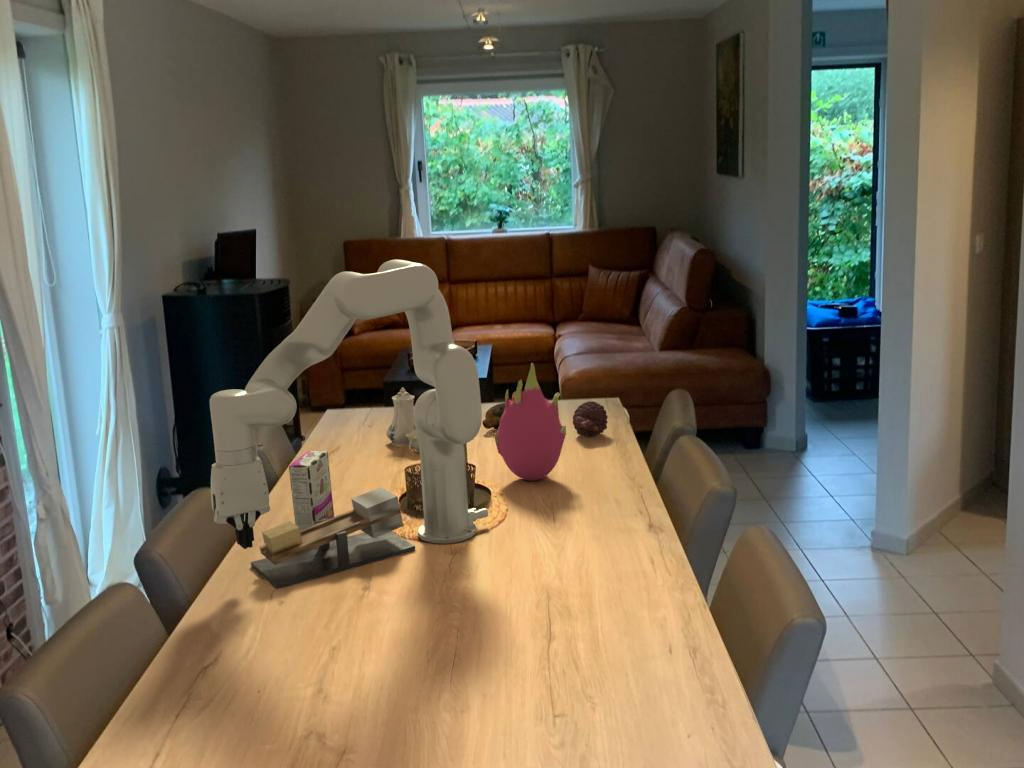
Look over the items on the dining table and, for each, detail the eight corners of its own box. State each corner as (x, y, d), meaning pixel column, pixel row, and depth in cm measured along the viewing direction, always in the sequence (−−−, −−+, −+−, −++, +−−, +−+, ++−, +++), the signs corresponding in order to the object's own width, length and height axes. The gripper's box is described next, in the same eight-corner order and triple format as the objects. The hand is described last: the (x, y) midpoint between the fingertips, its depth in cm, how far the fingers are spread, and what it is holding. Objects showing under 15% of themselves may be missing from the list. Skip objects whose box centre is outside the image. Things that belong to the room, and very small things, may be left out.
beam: (387, 516, 216) (380, 487, 214) (403, 525, 210) (397, 496, 208) (264, 566, 202) (256, 536, 200) (278, 578, 196) (270, 547, 194)
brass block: (294, 539, 203) (290, 521, 202) (303, 545, 200) (298, 527, 199) (266, 550, 200) (261, 532, 199) (275, 557, 197) (270, 538, 196)
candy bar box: (314, 518, 230) (308, 449, 226) (335, 519, 229) (329, 450, 225) (294, 537, 219) (287, 464, 216) (316, 538, 218) (309, 465, 215)
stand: (384, 531, 220) (382, 501, 219) (415, 550, 209) (413, 518, 207) (251, 566, 204) (247, 534, 203) (276, 589, 193) (273, 555, 191)
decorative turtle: (534, 425, 300) (533, 399, 298) (499, 440, 290) (497, 414, 288) (510, 419, 307) (509, 394, 304) (475, 433, 297) (473, 407, 294)
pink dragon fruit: (571, 471, 256) (567, 355, 249) (564, 489, 243) (560, 366, 236) (502, 470, 259) (496, 355, 252) (491, 487, 246) (485, 367, 239)
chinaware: (439, 462, 274) (442, 402, 271) (378, 458, 275) (380, 398, 271) (448, 433, 302) (451, 379, 298) (392, 430, 302) (394, 376, 298)
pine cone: (572, 428, 296) (571, 394, 294) (606, 426, 295) (605, 393, 293) (573, 445, 279) (572, 410, 276) (609, 444, 278) (609, 408, 276)
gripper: (266, 443, 198) (275, 531, 202) (190, 458, 190) (201, 550, 194) (281, 451, 192) (289, 542, 196) (203, 467, 184) (214, 562, 188)
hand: (245, 546), depth 195 cm, fingers closed
